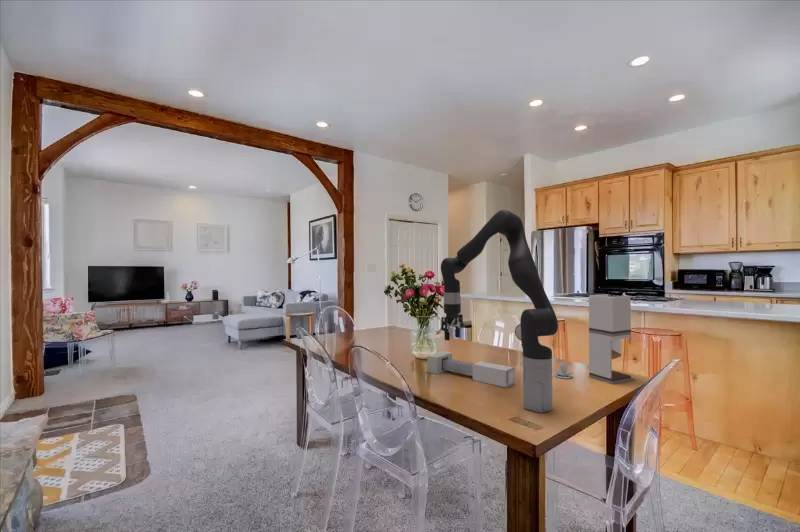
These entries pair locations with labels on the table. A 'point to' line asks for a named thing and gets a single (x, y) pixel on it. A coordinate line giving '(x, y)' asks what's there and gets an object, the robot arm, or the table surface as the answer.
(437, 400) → the table surface
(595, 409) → the table surface
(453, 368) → the steel tube
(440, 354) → the socket block
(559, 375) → the pacifier
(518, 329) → the magnifying glass
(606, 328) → the grey notched tower
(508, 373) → the grey sleeve
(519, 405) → the table surface
